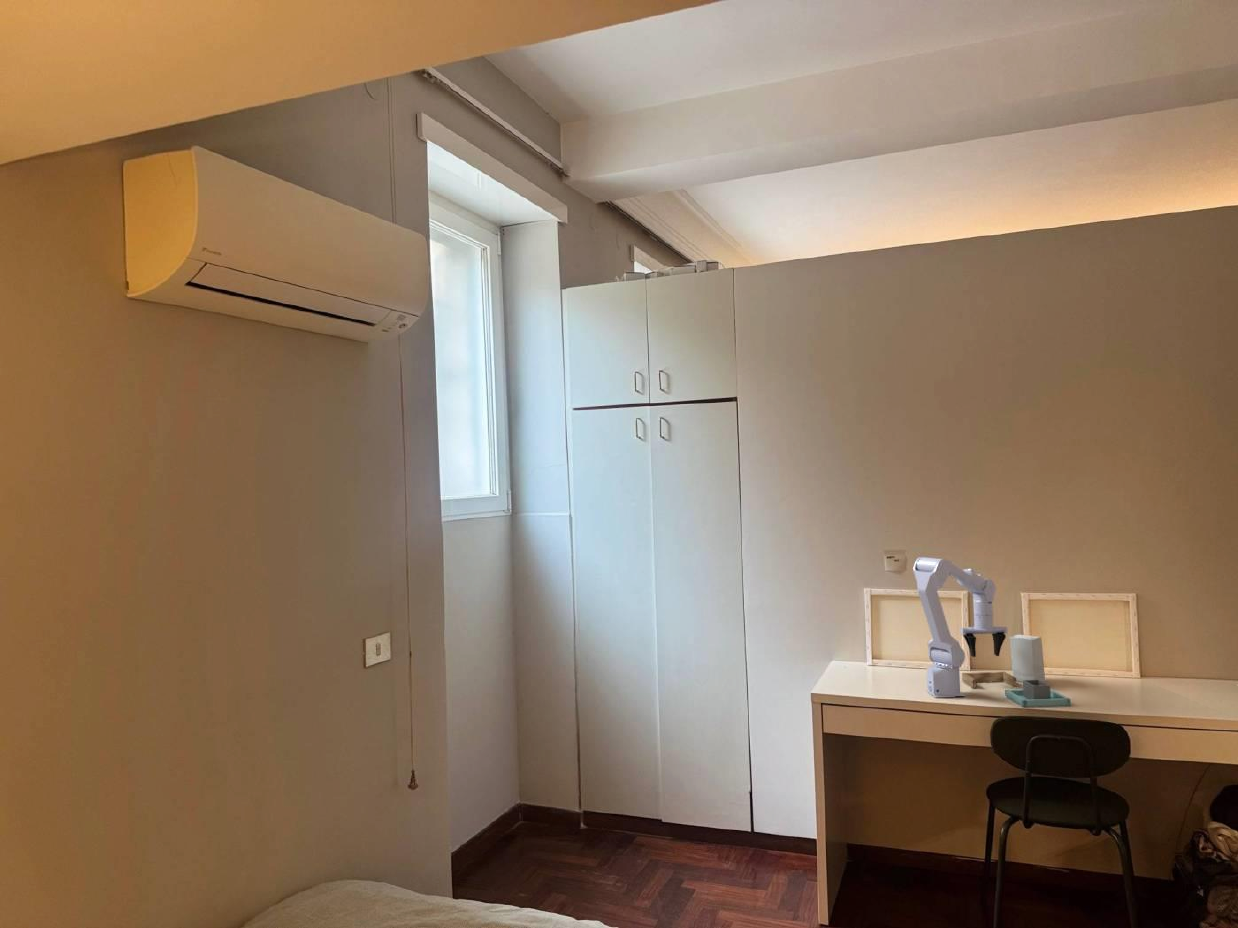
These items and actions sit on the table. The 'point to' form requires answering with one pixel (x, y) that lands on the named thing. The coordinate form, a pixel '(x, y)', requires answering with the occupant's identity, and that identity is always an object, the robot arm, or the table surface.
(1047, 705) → the tray
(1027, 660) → the skincare box
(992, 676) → the bay
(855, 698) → the table surface
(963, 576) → the robot arm
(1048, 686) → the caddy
